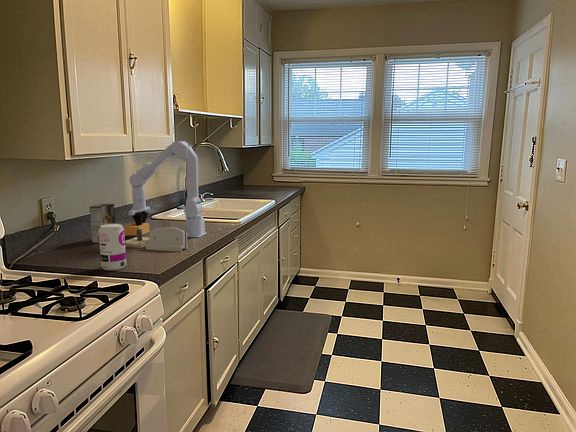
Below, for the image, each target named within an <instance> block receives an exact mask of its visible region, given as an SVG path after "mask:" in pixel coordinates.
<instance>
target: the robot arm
mask: <svg viewBox="0 0 576 432" xmlns="http://www.w3.org/2000/svg"><path fill="white" fill-rule="evenodd" d="M174 156H177V157H179V158H181V159H182V160H183V161H184V162H185V165H186V166H185V167H186V194H187V195H186V196H187V197H186V200H185V206H184V208H183V213H184V215H185V229H186V230H185V232H186V233H187V238H201V237H203V236H205V235H207V233H208V232H206V224H205V223H206V221H205V218H204V217H203V215H202V214H201V213H202V211H203V205H202V203H201V199H200V196H199V158H198V155H197V154H196V152H195V151H194V149H193V147H192V145H191V144H190V143H188V142H187V141H184V140H181V141H180V140H175V141H173V142H171V144H169V145H168V146H167V147H166V148H165V149H164V150H163V151H161V152H160V153H159V155H157V156H156V157H155V158H154V159H153V161H151V162H150V161H148V162H144V163H143V164H142V165H143V166H142V167H141V168H140V169H137V170H135V172H136V173H132V174H131V175H130V176H129V178H128V181H129V184H130V185H131V196H132V199H131V200H132V208H130V210H128V215H129V216H131V218H132V219H133V220H134V223H136V226H140V225H142V223H147V218H148V216H149V211H151V206H147V205H146V204H147V203H146V201H147V200H146V190H145V189H146V187H145V184H146V182H147V181H148V180H149V179H150V178H151V177H153V176H154V174H156V173H157V171H158V167H159V166H160V165H162V164H163V163H164V162H166V161H167V160H168V159H169V158H170V157H174Z"/></svg>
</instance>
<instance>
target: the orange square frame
mask: <svg viewBox="0 0 576 432" xmlns="http://www.w3.org/2000/svg"><path fill="white" fill-rule="evenodd" d="M123 228H124V235H125V236H137V229H142V236H143V235H144V234H147V233H151V230H150V223H148V222H145V223H142V225H140V226H136V223H135V222H132V223H130V224H126V225H123Z"/></svg>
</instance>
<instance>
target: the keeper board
mask: <svg viewBox="0 0 576 432" xmlns="http://www.w3.org/2000/svg"><path fill="white" fill-rule="evenodd" d="M149 237H150V236H143V235H142V229H137V235H136V237H132V238H130V239H127V240H125V248H133V249H134V248H135V249H136V248H137V249H138V248H140V249H142V248H146V245H147V244H148V241H149Z"/></svg>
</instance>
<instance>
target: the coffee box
mask: <svg viewBox="0 0 576 432" xmlns="http://www.w3.org/2000/svg"><path fill="white" fill-rule="evenodd" d="M115 212H116V211H115V203H99V204H95V205H91V206H89V215H90V227H91V239H92V243H98V244H100V242H99V229H100V226H101V225H105V224H117V222H116V215H115V214H116V213H115Z"/></svg>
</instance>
